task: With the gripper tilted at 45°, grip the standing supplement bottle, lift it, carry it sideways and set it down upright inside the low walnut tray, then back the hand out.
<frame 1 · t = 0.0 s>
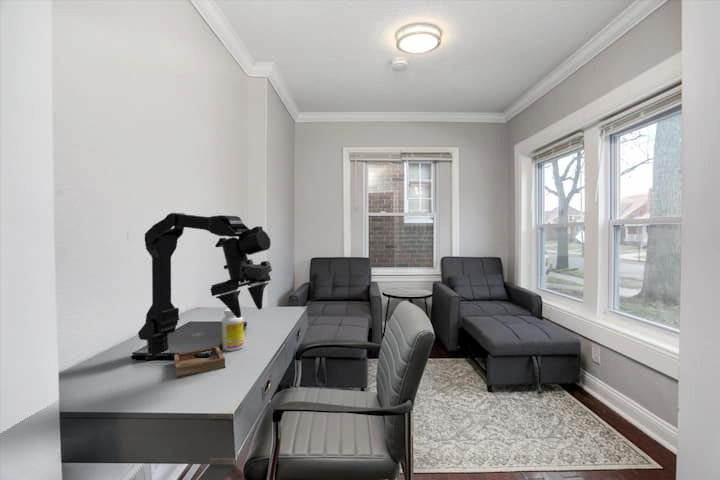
hand: (250, 313, 91), 15 cm above the table, tool pointing down, fingers open, 9 cm apart
walnut tray: (199, 365, 94), on the table
supplement bottle: (233, 348, 108), on the table
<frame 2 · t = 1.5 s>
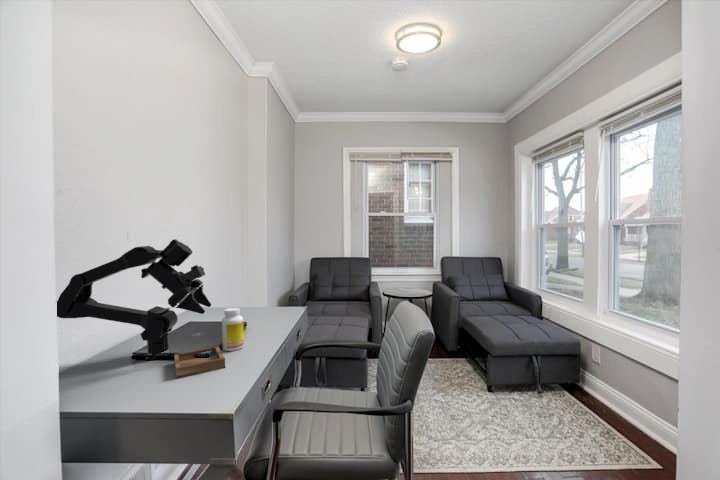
hand: (207, 309, 106), 13 cm above the table, tool tilted 45°, fingers open, 9 cm apart
nothing on the table moved.
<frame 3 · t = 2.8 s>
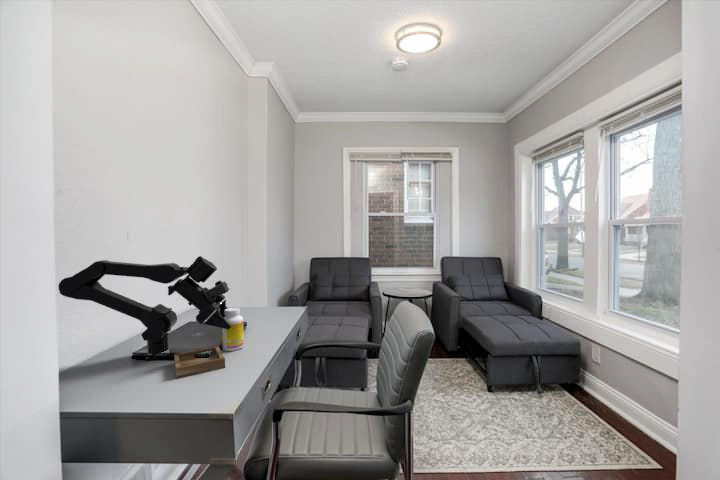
hand: (232, 324, 107), 8 cm above the table, tool tilted 45°, fingers open, 9 cm apart
nothing on the table moved.
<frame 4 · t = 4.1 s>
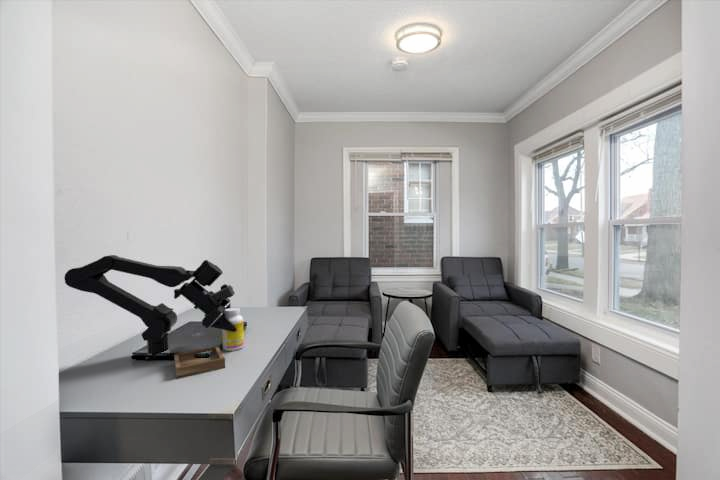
hand: (237, 327, 108), 7 cm above the table, tool tilted 45°, fingers closed on supplement bottle, 7 cm apart
supplement bottle: (233, 348, 108), on the table, touching gripper
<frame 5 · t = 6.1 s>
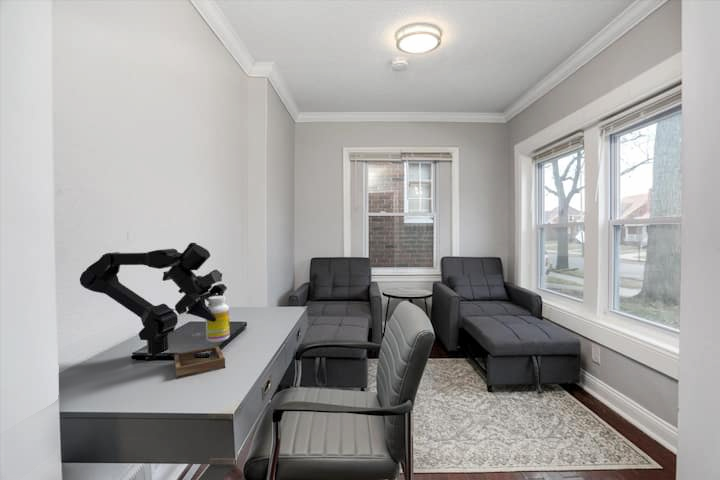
hand: (221, 317, 99), 12 cm above the table, tool tilted 45°, fingers closed on supplement bottle, 7 cm apart
supplement bottle: (218, 339, 100), point 5 cm above the table, touching gripper
when the fingers open (8 cm above the table, at t = 8.5 s): supplement bottle stays where it is, resting on walnut tray.
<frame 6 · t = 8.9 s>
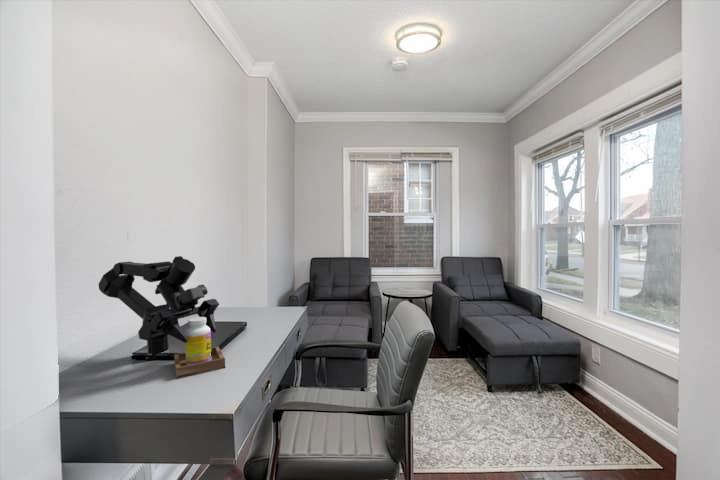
hand: (201, 336, 93), 9 cm above the table, tool tilted 45°, fingers open, 9 cm apart
supplement bottle: (199, 363, 94), resting on walnut tray
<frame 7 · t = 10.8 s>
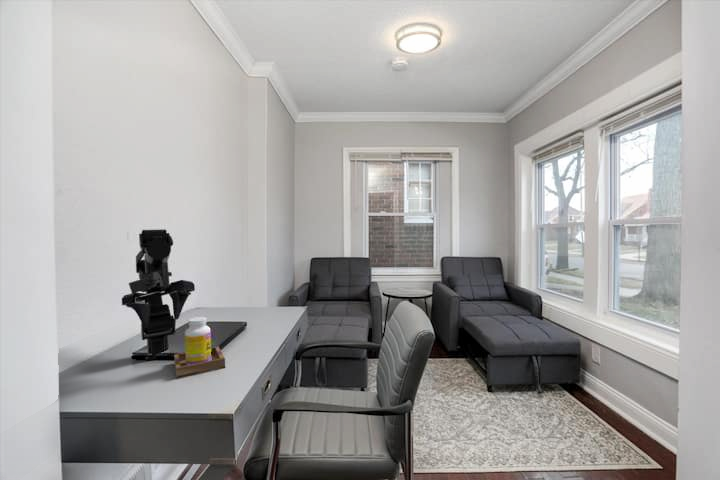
hand: (161, 323, 92), 13 cm above the table, tool tilted 20°, fingers open, 9 cm apart
nothing on the table moved.
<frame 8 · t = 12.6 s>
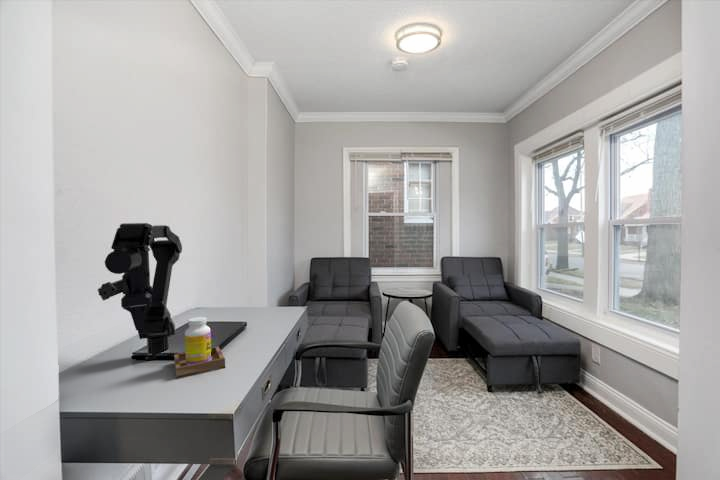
hand: (139, 325, 90), 13 cm above the table, tool pointing down, fingers open, 9 cm apart
nothing on the table moved.
at the end: supplement bottle 0.2 cm off-centre on the walnut tray, point 0.4 cm above the walnut tray's base; supplement bottle tilted 0°; the gripper is holding nothing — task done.
